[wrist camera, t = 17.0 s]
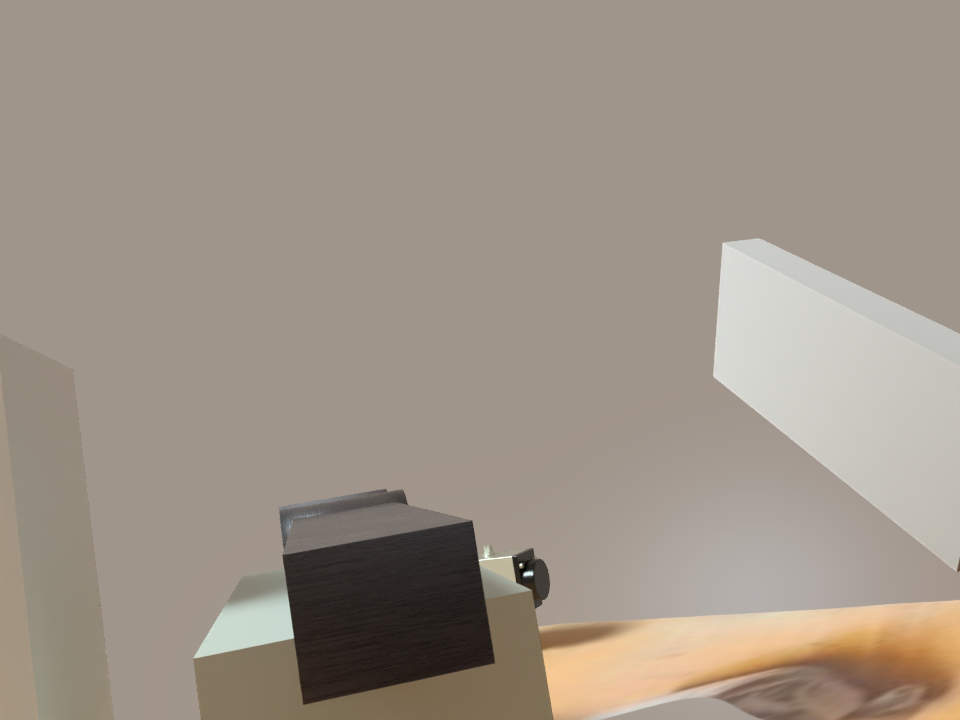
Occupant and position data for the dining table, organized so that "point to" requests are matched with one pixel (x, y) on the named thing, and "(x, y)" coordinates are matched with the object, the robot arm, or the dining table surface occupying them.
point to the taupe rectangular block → (46, 550)
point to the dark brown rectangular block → (381, 594)
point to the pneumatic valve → (519, 570)
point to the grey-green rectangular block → (376, 713)
